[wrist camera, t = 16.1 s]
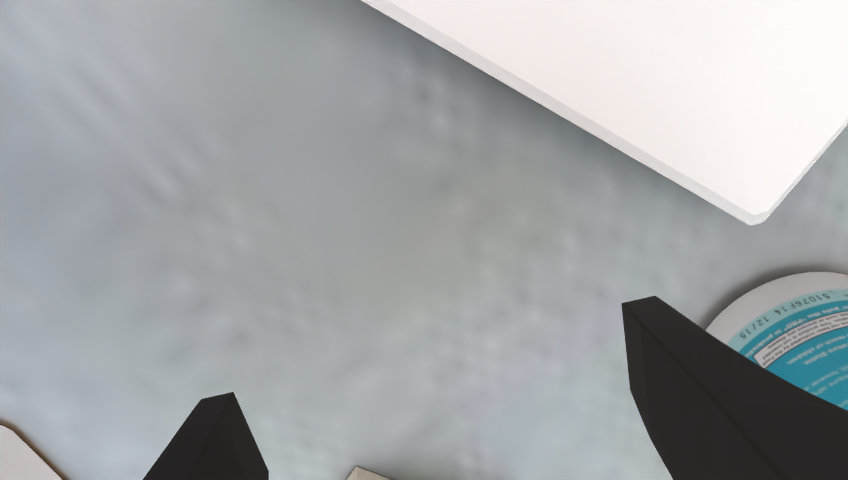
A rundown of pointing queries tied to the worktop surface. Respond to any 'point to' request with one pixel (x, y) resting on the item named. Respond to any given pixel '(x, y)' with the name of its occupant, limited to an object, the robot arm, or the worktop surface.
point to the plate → (670, 80)
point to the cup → (21, 460)
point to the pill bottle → (794, 331)
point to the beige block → (364, 475)
